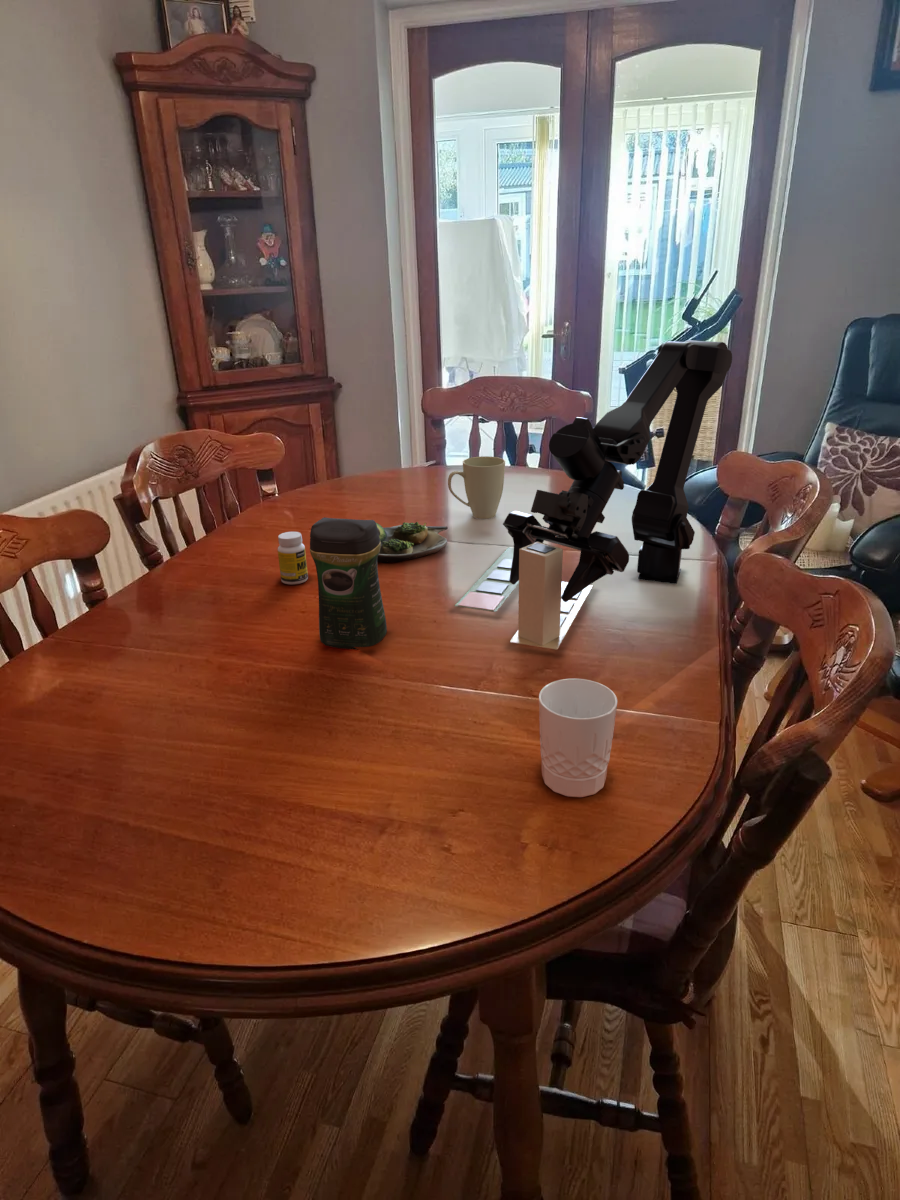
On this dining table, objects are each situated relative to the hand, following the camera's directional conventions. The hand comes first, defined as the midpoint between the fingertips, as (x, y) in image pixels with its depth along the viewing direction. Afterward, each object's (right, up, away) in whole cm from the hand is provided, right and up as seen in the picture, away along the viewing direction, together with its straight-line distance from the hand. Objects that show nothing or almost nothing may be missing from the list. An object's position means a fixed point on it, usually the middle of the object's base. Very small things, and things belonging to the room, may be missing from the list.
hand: (536, 591), depth 105 cm
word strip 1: (-3, +2, +25) cm, 25 cm away
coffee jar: (-26, -7, +6) cm, 28 cm away
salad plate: (-23, +9, +42) cm, 49 cm away
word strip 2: (+4, -4, +11) cm, 13 cm away
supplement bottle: (-40, +2, +28) cm, 48 cm away
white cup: (+1, -20, -25) cm, 32 cm away
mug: (-6, +17, +58) cm, 61 cm away
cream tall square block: (+1, -6, +3) cm, 7 cm away
